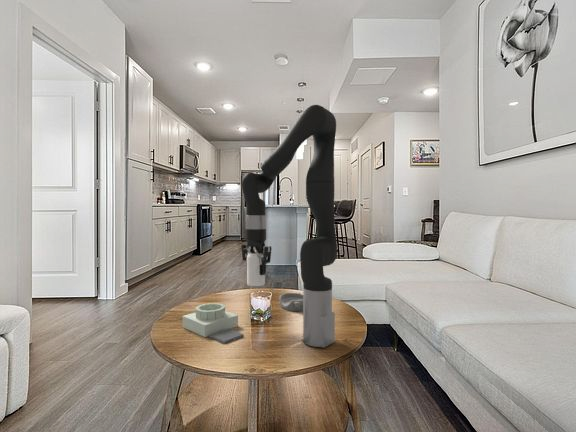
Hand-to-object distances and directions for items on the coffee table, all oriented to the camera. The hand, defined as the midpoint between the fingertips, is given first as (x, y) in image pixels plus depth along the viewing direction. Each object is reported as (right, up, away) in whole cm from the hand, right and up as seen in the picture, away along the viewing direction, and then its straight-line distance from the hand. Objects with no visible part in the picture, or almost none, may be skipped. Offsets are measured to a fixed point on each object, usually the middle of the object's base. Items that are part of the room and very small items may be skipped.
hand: (256, 273), depth 114 cm
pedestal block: (-16, -19, -1) cm, 25 cm away
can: (0, -4, 0) cm, 4 cm away
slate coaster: (-9, -19, -11) cm, 23 cm away
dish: (+15, -19, +23) cm, 34 cm away
